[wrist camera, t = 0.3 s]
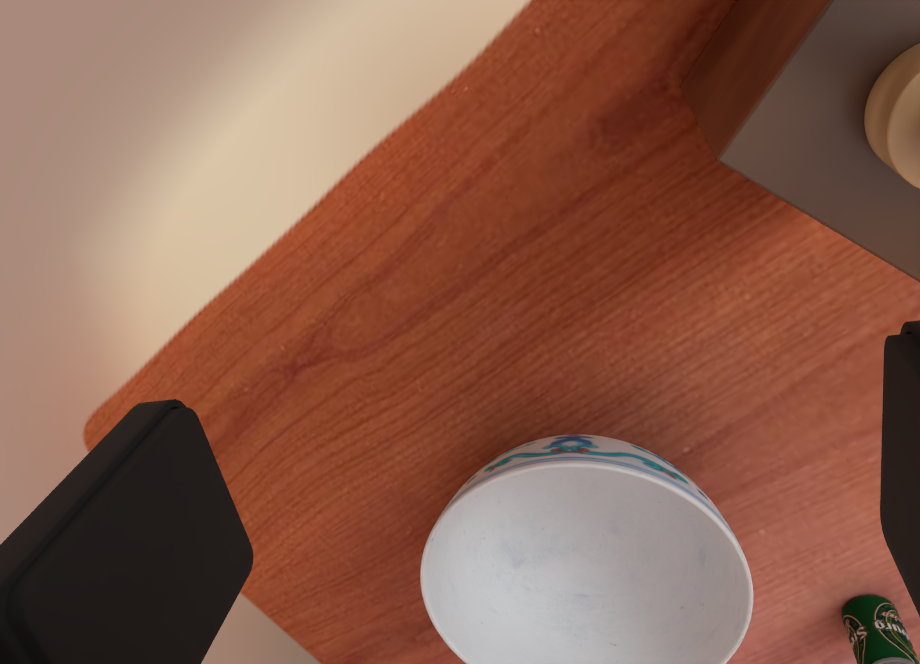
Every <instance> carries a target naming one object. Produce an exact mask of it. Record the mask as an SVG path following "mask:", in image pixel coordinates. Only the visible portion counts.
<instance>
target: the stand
mask: <svg viewBox="0 0 920 664" xmlns="http://www.w3.org/2000/svg"><path fill="white" fill-rule="evenodd" d="M919 43H920V0H736V2H735V3H734V5H733V6H732V8H731V9H730V11H729V12H728V14H727V15H726V17H725V18H724V20H723V21H722V23H721V24H720V26H719V27H718V29H717V30H716V32H715V33H714V35H713V36H712V38H711V39H710V41H709V42H708V44H707V45H706V47H705V48H704V50H703V51H702V53H701V54H700V56H699V57H698V59H697V60H696V62H695V63H694V65H693V66H692V68H691V69H690V71H689V72H688V74H687V75H686V77H685V78H684V80H683V81H682V83H681V84H680V88H681V90H682V92H683V94H684V96H685V98H686V100H687V102H688V104H689V106H690V108H691V110H692V112H693V114H694V116H695V118H696V120H697V122H698V124H699V126H700V128H701V130H702V132H703V134H704V136H705V138H706V140H707V142H708V144H709V146H710V148H711V150H712V152H713V154H714V156H715V158H716V160H717V161H718V162H720V163H721V164H723V165H725V166H726V167H728V168H730V169H731V170H733V171H735V172H737V173H738V174H740V175H742V176H743V177H745V178H747V179H748V180H750V181H752V182H753V183H755V184H757V185H758V186H760V187H762V188H763V189H765V190H767V191H768V192H770V193H772V194H773V195H775V196H777V197H778V198H780V199H782V200H783V201H785V202H787V203H788V204H790V205H792V206H793V207H795V208H797V209H798V210H800V211H802V212H803V213H805V214H807V215H808V216H810V217H812V218H813V219H815V220H817V221H818V222H820V223H822V224H823V225H825V226H827V227H828V228H830V229H832V230H833V231H835V232H837V233H839V234H840V235H842V236H844V237H845V238H847V239H849V240H850V241H852V242H854V243H855V244H857V245H859V246H860V247H862V248H864V249H865V250H867V251H869V252H870V253H872V254H874V255H875V256H877V257H879V258H880V259H882V260H884V261H885V262H887V263H889V264H890V265H892V266H894V267H895V268H897V269H899V270H900V271H902V272H904V273H905V274H907V275H909V276H910V277H912V278H914V279H915V280H917V281H919V282H920V189H919V188H917V187H915V186H913V185H912V184H910V183H909V182H908V181H906V180H905V179H904V178H902V177H901V176H900V175H899V174H898V173H896V172H895V171H894V170H893V169H891V168H890V167H889V166H888V165H887V164H885V163H884V162H883V161H882V160H881V159H880V158H879V157H878V156H877V155H876V154H875V152H874V151H873V150H872V148H871V146H870V144H869V142H868V139H867V136H866V132H865V126H864V115H865V107H866V104H867V100H868V97H869V94H870V92H871V89H872V88H873V86H874V84H875V82H876V80H877V79H878V78H879V76H880V75H881V73H882V72H883V71H884V70H885V69H886V67H887V66H888V65H889V64H890V63H891V62H892V61H893V60H894V59H896V58H897V57H898V56H899V55H901V54H902V53H903V52H905V51H906V50H908V49H909V48H911V47H913V46H915V45H917V44H919Z"/></svg>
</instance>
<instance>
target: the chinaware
mask: <svg viewBox="0 0 920 664" xmlns="http://www.w3.org/2000/svg"><path fill="white" fill-rule="evenodd" d="M420 581H421V590H422V595H423V600H424V603H425V606H426V609H427V612H428V614H429V617H430V619H431V621H432V623H433V625H434V626H435V628H436V630H437V631H438V633H439V634H440V636H441V637H442V639H443V640H444V641H445V643H446V644H447V645H448V646H449V647H450V648H451V650H452V651H453V652H454V653H455V654H456V655H457V656H458V657H459V658H460V659H462V660H463V661H464V662H465V663H466V664H726V663H727V661H728V660H729V659H730V658H731V657H732V656H733V654H734V653H735V651H736V650H737V649H738V647H739V645H740V644H741V642H742V640H743V638H744V636H745V634H746V631H747V629H748V626H749V623H750V619H751V615H752V609H753V586H752V579H751V574H750V570H749V567H748V564H747V561H746V558H745V556H744V553H743V551H742V549H741V547H740V545H739V543H738V541H737V539H736V537H735V535H734V534H733V532H732V530H731V528H730V527H729V525H728V524H727V522H726V520H725V519H724V517H723V516H722V515H721V513H720V512H719V510H718V509H717V508H716V506H715V505H714V504H713V502H712V501H711V500H710V499H709V498H708V497H707V495H706V494H705V493H704V492H703V491H702V490H701V489H700V488H699V487H698V486H697V485H696V484H695V483H694V482H693V481H692V480H691V479H690V478H689V477H688V476H686V475H685V474H684V473H683V472H682V471H680V470H679V469H678V468H676V467H675V466H674V465H672V464H671V463H669V462H668V461H666V460H664V459H663V458H661V457H659V456H658V455H656V454H654V453H652V452H650V451H648V450H646V449H644V448H641V447H639V446H636V445H634V444H631V443H628V442H625V441H621V440H618V439H613V438H609V437H603V436H596V435H583V434H573V435H560V436H552V437H547V438H542V439H538V440H535V441H531V442H528V443H525V444H523V445H520V446H518V447H516V448H513V449H511V450H509V451H507V452H505V453H503V454H502V455H500V456H498V457H497V458H495V459H494V460H492V461H491V462H489V463H488V464H486V465H485V466H484V467H482V468H481V469H480V470H479V471H477V472H476V473H475V474H474V475H473V476H472V477H471V478H470V479H469V480H468V481H467V482H466V483H465V484H464V485H463V486H462V487H461V488H460V489H459V490H458V491H457V493H456V494H455V495H454V496H453V498H452V499H451V500H450V502H449V503H448V504H447V506H446V507H445V509H444V510H443V512H442V513H441V515H440V516H439V518H438V520H437V521H436V523H435V525H434V527H433V529H432V530H431V533H430V535H429V537H428V539H427V542H426V545H425V548H424V551H423V555H422V561H421V570H420Z"/></svg>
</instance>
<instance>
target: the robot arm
mask: <svg viewBox="0 0 920 664" xmlns="http://www.w3.org/2000/svg"><path fill="white" fill-rule="evenodd" d="M880 517H881V525H882V530H883V534H884V537H885V540H886V543H887V545H888V548H889V550H890V552H891V554H892V556H893V559H894V561H895V563H896V565H897V567H898V570H899V572H900V574H901V576H902V578H903V581H904V583H905V585H906V587H907V589H908V592H909V594H910V596H911V598H912V600H913V603H914V605H915V607H916V609H917V611H918V614H919V616H920V321H911V322H905V323H904V324H903V326H902V329H901V333H900V335H892V336H888V337H887V338H886V340H885V346H884V378H883V419H882V459H881V500H880ZM252 565H253V550H252V546H251V543H250V541H249V539H248V536H247V534H246V531H245V529H244V527H243V524H242V522H241V519H240V517H239V515H238V512H237V510H236V507H235V505H234V503H233V500H232V498H231V495H230V493H229V491H228V488H227V486H226V483H225V481H224V478H223V476H222V474H221V471H220V469H219V466H218V464H217V462H216V459H215V457H214V454H213V452H212V450H211V447H210V445H209V442H208V440H207V438H206V435H205V433H204V430H203V428H202V426H201V423H200V421H199V418H198V416H197V415H196V413H195V412H194V411H193V410H192V409H190V408H186V406H185V405H184V404H183V403H182V402H181V401H178V400H176V399H174V400H165V401H155V402H146V403H139V404H137V405H136V406H134V407H133V408H132V409H131V410H130V411H129V412H128V413H127V414H126V415H125V416H124V417H123V419H122V420H121V421H120V422H119V423H118V424H117V425H116V426H115V427H114V428H113V429H112V430H111V431H110V432H109V433H108V434H107V435H106V436H105V437H104V438H103V439H102V440H101V441H100V442H99V443H98V444H97V445H96V446H95V448H94V449H93V450H92V451H91V452H90V453H89V454H88V455H87V456H86V457H85V458H84V459H83V460H82V461H81V462H80V463H79V464H78V465H77V466H76V467H75V468H74V469H73V470H72V471H71V472H70V473H69V475H67V476H66V478H65V479H64V480H63V481H62V482H61V483H60V484H59V485H58V486H57V487H56V488H55V489H54V490H53V491H52V492H51V493H50V494H49V495H48V496H47V497H46V498H45V499H44V500H43V501H42V502H41V503H40V504H39V505H38V506H37V508H36V509H35V510H34V511H33V512H32V513H31V514H30V515H29V516H28V517H27V518H26V519H25V520H24V521H23V522H22V523H21V524H20V525H19V526H18V527H17V528H16V529H15V530H14V531H13V532H12V533H11V534H10V535H9V537H8V538H7V539H6V540H5V541H4V542H3V543H2V544H1V545H0V664H201V662H202V661H203V659H204V657H205V655H206V653H207V651H208V649H209V648H210V646H211V644H212V642H213V640H214V638H215V636H216V635H217V633H218V631H219V629H220V627H221V625H222V624H223V622H224V620H225V618H226V616H227V614H228V612H229V611H230V609H231V607H232V605H233V603H234V602H235V600H236V598H237V596H238V594H239V592H240V590H241V589H242V587H243V585H244V583H245V581H246V579H247V578H248V576H249V574H250V571H251V569H252Z"/></svg>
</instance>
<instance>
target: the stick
mask: <svg viewBox="0 0 920 664" xmlns="http://www.w3.org/2000/svg"><path fill="white" fill-rule="evenodd" d="M864 126H865V132H866V136H867V139H868V142H869V144H870V146H871V148H872V150H873V151H874V152H875V154H876V155H877V156H878V157H879V158H880V159H881V160H882V161H883V162H884V163H885V164H887V165H888V166H889V167H890V168H891V169H893V170H894V171H895V172H896V173H898V174H899V175H900V176H901V177H902V178H904V179H905V180H906V181H908V182H909V183H910V184H912V185H913V186H915V187H917V188H919V189H920V43H919V44H917V45H915V46H913V47H911V48H909V49H908V50H906V51H905V52H903V53H902V54H901V55H899V56H898V57H897V58H896V59H894V60H893V61H892V62H891V63H890V64H889V65H888V66H887V67H886V69H885V70H884V71H883V72H882V73H881V75H880V76H879V78H878V79H877V80H876V82H875V84H874V86H873V88H872V89H871V92H870V94H869V97H868V100H867V104H866V107H865V115H864Z"/></svg>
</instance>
